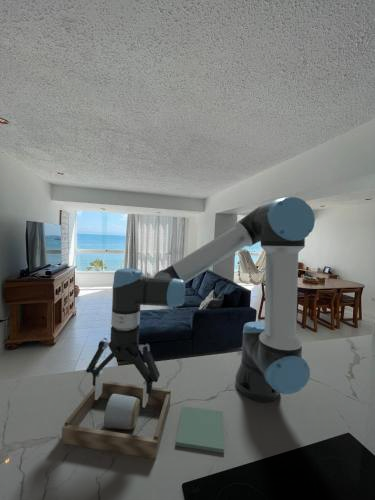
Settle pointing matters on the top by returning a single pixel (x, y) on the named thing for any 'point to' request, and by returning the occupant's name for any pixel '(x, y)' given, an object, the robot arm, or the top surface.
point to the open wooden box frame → (113, 439)
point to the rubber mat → (201, 429)
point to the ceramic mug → (121, 412)
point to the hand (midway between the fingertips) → (121, 400)
